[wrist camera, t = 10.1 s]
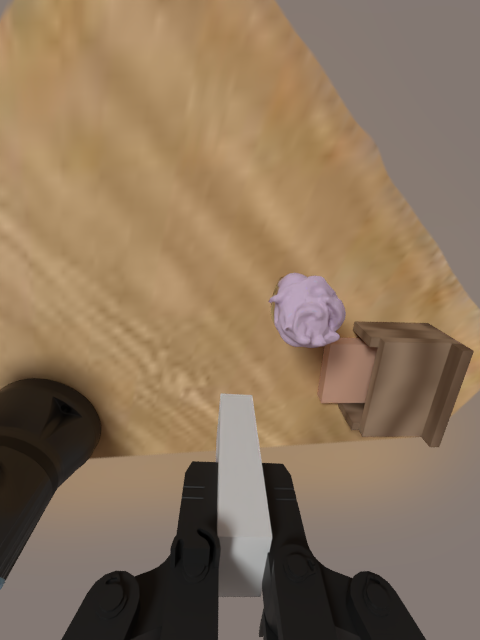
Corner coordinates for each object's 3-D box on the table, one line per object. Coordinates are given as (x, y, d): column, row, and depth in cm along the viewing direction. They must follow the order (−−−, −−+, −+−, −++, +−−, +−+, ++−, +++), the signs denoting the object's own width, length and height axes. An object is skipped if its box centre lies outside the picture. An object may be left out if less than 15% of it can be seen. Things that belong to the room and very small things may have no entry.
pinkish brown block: (316, 392, 44) (321, 403, 42) (324, 336, 41) (330, 344, 39) (396, 392, 45) (405, 402, 43) (410, 337, 42) (421, 345, 39)
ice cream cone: (245, 281, 37) (257, 330, 23) (280, 241, 36) (315, 268, 22) (285, 314, 39) (318, 377, 25) (319, 277, 37) (375, 323, 24)
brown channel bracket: (338, 406, 45) (360, 447, 37) (354, 321, 40) (384, 349, 32) (404, 406, 45) (438, 447, 38) (428, 323, 40) (473, 351, 33)
